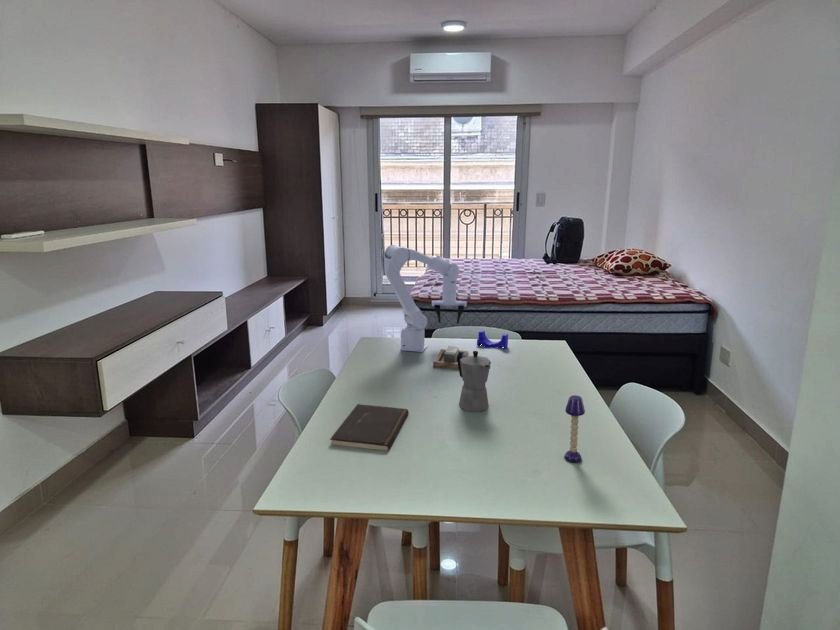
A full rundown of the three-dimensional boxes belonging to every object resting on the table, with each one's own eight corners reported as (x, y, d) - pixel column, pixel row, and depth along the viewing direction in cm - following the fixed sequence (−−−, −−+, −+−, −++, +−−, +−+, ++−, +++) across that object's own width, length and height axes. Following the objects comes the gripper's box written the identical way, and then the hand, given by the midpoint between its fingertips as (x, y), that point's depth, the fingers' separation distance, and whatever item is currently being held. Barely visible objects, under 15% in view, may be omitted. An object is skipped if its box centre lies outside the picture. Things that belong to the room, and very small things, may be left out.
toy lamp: (567, 464, 133) (573, 401, 129) (558, 455, 138) (562, 394, 134) (584, 461, 135) (590, 399, 131) (574, 452, 139) (579, 392, 135)
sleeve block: (448, 356, 212) (448, 346, 211) (458, 356, 212) (458, 346, 211) (443, 364, 203) (443, 353, 202) (454, 365, 202) (454, 354, 201)
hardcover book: (330, 446, 143) (330, 438, 142) (357, 411, 164) (357, 404, 164) (388, 453, 139) (388, 445, 139) (408, 416, 161) (408, 408, 161)
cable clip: (476, 346, 227) (477, 332, 226) (480, 343, 231) (481, 330, 230) (503, 350, 222) (504, 336, 220) (507, 347, 226) (508, 333, 224)
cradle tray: (433, 367, 201) (433, 362, 201) (441, 353, 216) (441, 349, 216) (462, 369, 199) (462, 364, 198) (468, 356, 214) (468, 351, 213)
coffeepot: (499, 410, 164) (502, 354, 160) (475, 417, 159) (477, 359, 155) (468, 393, 177) (469, 341, 172) (444, 399, 172) (445, 346, 167)
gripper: (431, 292, 220) (431, 324, 224) (467, 293, 220) (466, 325, 223) (432, 289, 227) (431, 320, 230) (466, 289, 226) (465, 321, 230)
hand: (448, 322), depth 227 cm, fingers open, 7 cm apart
